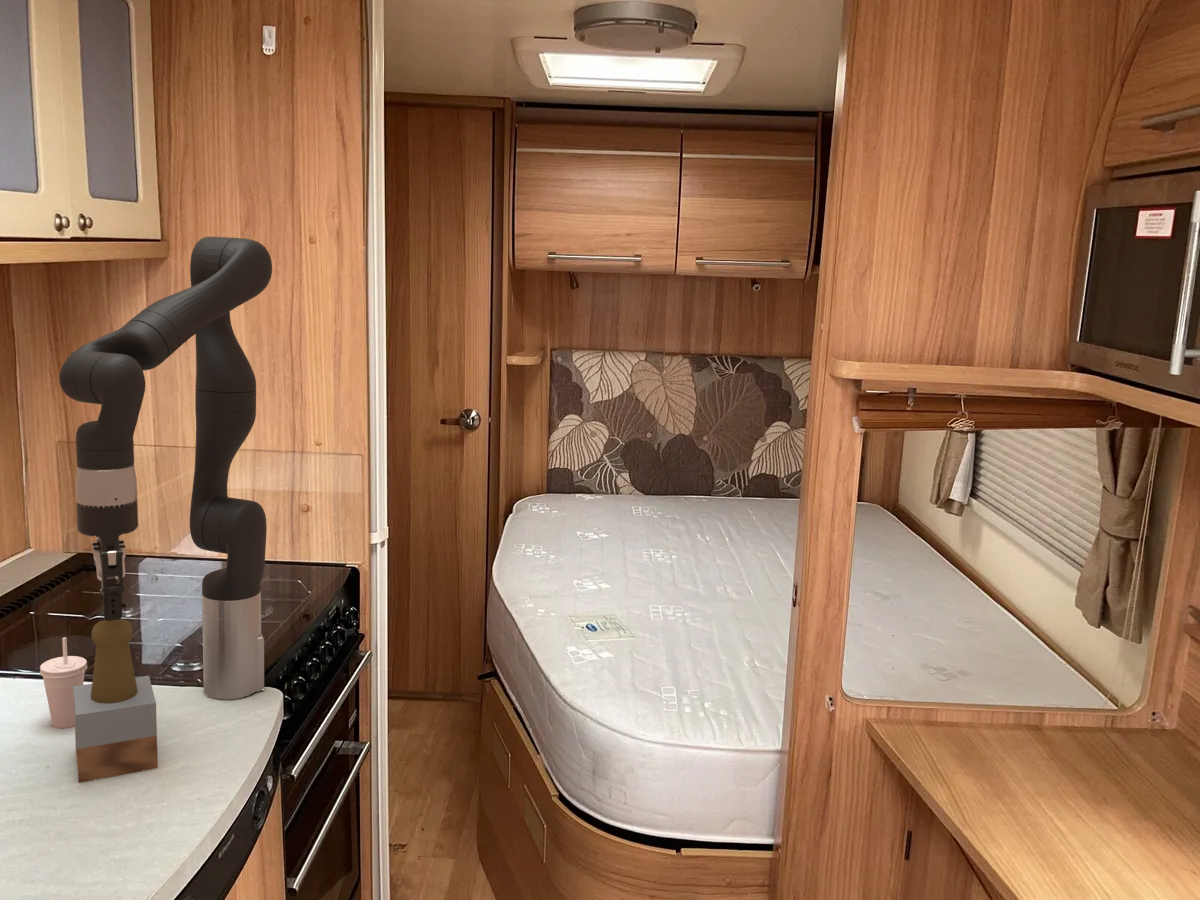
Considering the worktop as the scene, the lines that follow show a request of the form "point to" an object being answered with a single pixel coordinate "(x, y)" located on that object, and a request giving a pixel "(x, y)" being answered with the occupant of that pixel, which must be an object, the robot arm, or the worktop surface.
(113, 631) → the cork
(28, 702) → the worktop surface
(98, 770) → the walnut base block
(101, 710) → the slate top block
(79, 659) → the smoothie
